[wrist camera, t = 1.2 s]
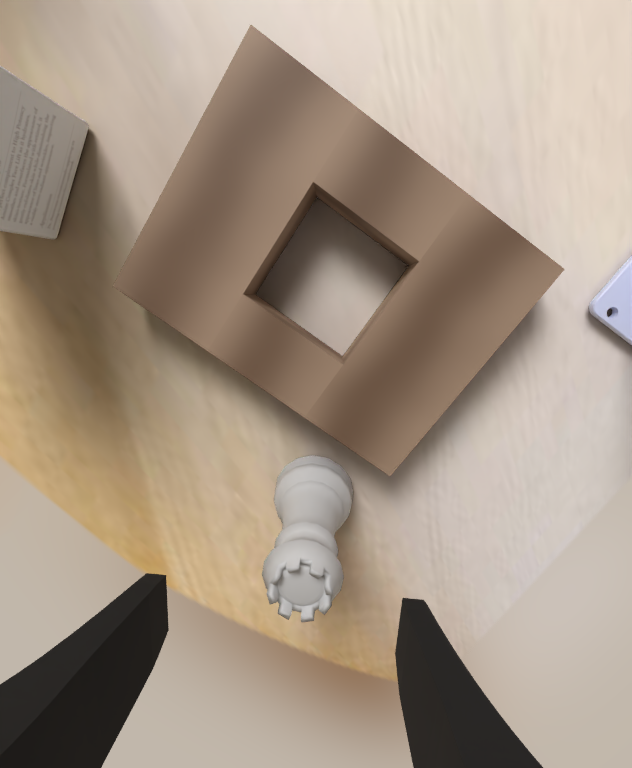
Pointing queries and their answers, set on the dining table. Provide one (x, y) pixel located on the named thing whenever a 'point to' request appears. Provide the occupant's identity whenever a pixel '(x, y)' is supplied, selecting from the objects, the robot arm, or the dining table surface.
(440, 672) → the robot arm
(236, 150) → the socket board
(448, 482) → the dining table surface
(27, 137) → the skincare box
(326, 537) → the rook chess piece
